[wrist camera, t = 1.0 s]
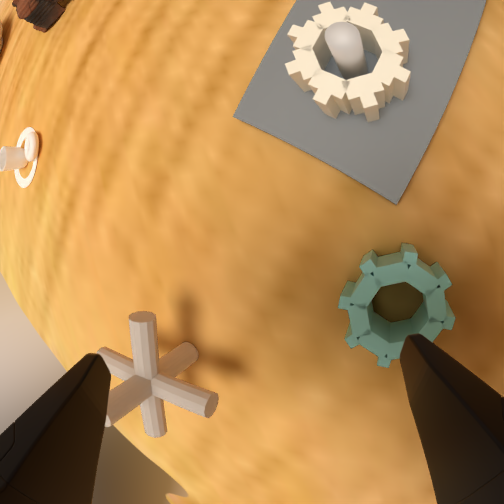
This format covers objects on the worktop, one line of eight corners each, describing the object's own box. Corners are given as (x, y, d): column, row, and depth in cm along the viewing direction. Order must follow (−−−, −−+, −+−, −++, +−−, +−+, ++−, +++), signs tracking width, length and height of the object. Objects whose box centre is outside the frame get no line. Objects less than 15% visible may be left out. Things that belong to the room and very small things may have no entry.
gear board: (490, -16, 10) (504, -62, 5) (395, 204, 17) (400, 207, 12) (351, -69, 13) (335, -117, 8) (241, 120, 20) (191, 99, 14)
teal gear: (463, 281, 16) (476, 296, 13) (405, 359, 18) (406, 384, 15) (382, 224, 17) (382, 229, 14) (328, 308, 19) (318, 327, 17)
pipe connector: (147, 380, 28) (71, 432, 19) (139, 282, 25) (40, 318, 16) (242, 417, 24) (174, 498, 15) (248, 309, 22) (154, 379, 13)
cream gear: (425, 53, 13) (429, 29, 10) (381, 143, 15) (380, 132, 13) (326, 13, 15) (314, -13, 12) (282, 94, 17) (262, 78, 14)
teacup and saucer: (48, 127, 29) (20, 125, 26) (39, 193, 31) (12, 195, 28) (21, 127, 32) (-3, 126, 28) (14, 183, 34) (-9, 184, 31)
